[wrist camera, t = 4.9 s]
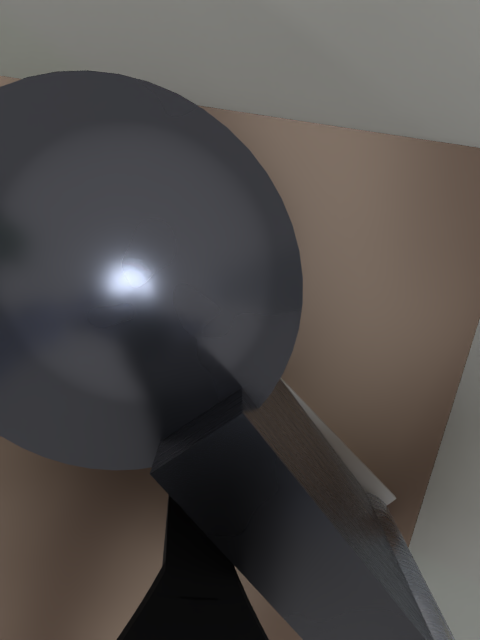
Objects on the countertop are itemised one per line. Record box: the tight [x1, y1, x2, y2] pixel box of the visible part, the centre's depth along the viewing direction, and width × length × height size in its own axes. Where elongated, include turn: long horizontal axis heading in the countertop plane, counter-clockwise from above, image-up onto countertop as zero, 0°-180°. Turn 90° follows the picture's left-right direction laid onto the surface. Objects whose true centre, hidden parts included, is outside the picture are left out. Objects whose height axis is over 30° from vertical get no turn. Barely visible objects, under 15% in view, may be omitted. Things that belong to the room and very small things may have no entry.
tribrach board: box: [0, 76, 480, 640], centre depth 9 cm, size 16×14×2 cm
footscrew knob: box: [0, 71, 455, 640], centre depth 7 cm, size 11×5×4 cm, turn 36°
